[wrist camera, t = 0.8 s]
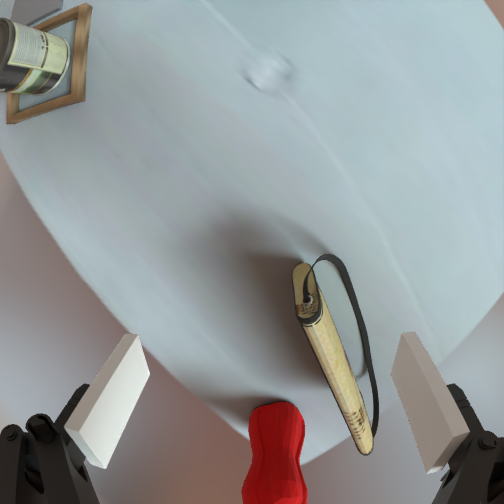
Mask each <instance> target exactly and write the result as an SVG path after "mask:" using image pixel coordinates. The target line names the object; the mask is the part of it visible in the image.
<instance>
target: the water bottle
mask: <svg viewBox="0 0 504 504" xmlns="http://www.w3.org/2000/svg"><path fill="white" fill-rule="evenodd" d="M248 432H249V437H250V442H251V448H252V452H253V458H252V464H251V467H250V469H249V471H248V474H247V476H246V479H245V481H244V483H243V487H242V491H241V492H242V498H243V504H307V496H308V493H307V488H306V485H305V482H304V479H303V475H302V472H301V469H300V462H299V458H300V454H301V450H302V446H303V442H304V437H305V424H304V419H303V417H302V415H301V414H300V412H299V410H298V408H297V407H295V406H294V405H293V404H291V403H287V402H276V403H273V404H271V405H266V406H260V407H258V408H256V409H254V410H253V412H252V413H251V415H250V418H249V428H248Z"/></svg>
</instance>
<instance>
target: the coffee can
mask: <svg viewBox="0 0 504 504" xmlns="http://www.w3.org/2000/svg"><path fill="white" fill-rule="evenodd" d="M70 57H71V50H70V46H69V44H68V42H67V41H66V40H65V39H64V38H62V37H57V36H54V35H52V34H49V33H46V32H43V31H41V30H38V29H35V28H32V27H28V26H25V25H22V24H19V23H16V22H12V21H10V20H9V19H6V18H0V92H8V93H23V94H34V95H45V94H47V93H49V92H51V91H52V90H53V89H54V88H56V87H57V86H58V84H59V83H60V82H61V81H62V79H63V77H64V76H65V74H66V72H67V69H68V66H69V63H70Z"/></svg>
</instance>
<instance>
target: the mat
mask: <svg viewBox="0 0 504 504" xmlns="http://www.w3.org/2000/svg"><path fill="white" fill-rule="evenodd" d="M62 4H63V0H16V1H15V5H14V9H13V13H12V18H11V21H12V22H16V23H19V24H22V25H25V26H30V25H31V24H33V23H35V22H37V21H39V20H41V19H43V18H45V17H47V16H49V15H51V14H53V13H55V12H57V11H59V10H61V9H62Z"/></svg>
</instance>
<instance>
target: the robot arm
mask: <svg viewBox="0 0 504 504" xmlns="http://www.w3.org/2000/svg"><path fill="white" fill-rule="evenodd" d="M149 375H150V372H149V370H148V366H147V363H146V360H145V357H144V354H143V350H142V346H141V343H140V339H139V336H138V335H136V334H125V335H124V336H123V338H122V339H121V340H120V342H119V343H118V345H117V346H116V348H115V349H114V351H113V352H112V353H111V355H110V356H109V358H108V359H107V361H106V362H105V364H104V365H103V367H102V368H101V370H100V371H99V373H98V374H97V376H96V377H95V379H94V380H93V382H92V383H91V385H89V384H83V385H82V386H81V387H79V388H78V389H77V390H76V391H75V392H74V394H73V396H72V397H71V399H70V400H69V401H68V403H67V405H66V406H65V407H64V409H63V410H62V412H61V414H60V415H59V417H58V418H57V420H56V421H55V423H53V421H52V420H51V418H50V417H49V416H48V415H46V414H42V413H41V414H36V415H33V416H32V417H31V418H29V419H28V421H27V423H26V427H25V428H26V429H27V431H28V432H29V433H27V432H23V431H22V429H21V428H20V427H19V426H18V425H15V424H12V425H8V426H6V427H5V428H4V429H3V430H2V432H1V434H0V504H100V503H99V501H98V498H97V496H96V493H95V491H94V488H93V486H92V483H91V480H90V478H89V475H88V472H87V469H86V467H85V465H84V463H83V462H84V460H85V458H87V459H88V461H89V462H90V463H91V464H92V465H95V466H98V467H101V468H104V469H106V467H107V465H108V463H109V461H110V458H111V456H112V454H113V452H114V449H115V447H116V445H117V443H118V441H119V439H120V436H121V434H122V432H123V430H124V428H125V426H126V423H127V421H128V419H129V417H130V415H131V413H132V411H133V409H134V407H135V405H136V402H137V400H138V398H139V396H140V394H141V392H142V390H143V388H144V386H145V384H146V382H147V380H148V378H149ZM391 376H392V379H393V381H394V384H395V386H396V389H397V391H398V394H399V397H400V399H401V402H402V404H403V407H404V410H405V412H406V415H407V418H408V421H409V423H410V426H411V429H412V432H413V435H414V437H415V440H416V443H417V446H418V449H419V452H420V455H421V458H422V461H423V464H424V467H425V470H426V474H428V473H432V472H435V471H439V470H442V469H443V468H444V466H445V465H446V464H447V463H448V464H449V467H450V469H449V470H448V472H447V473H446V474H445V475H444V476H443V477H442V479H441V481H443V483H442V485H441V487H440V489H439V491H438V493H437V495H436V497H435V499H434V500H433V502H432V504H504V437H501V438H498V437H497V436H496V435H495V434H494V433H492V432H490V431H485V430H484V429H483V427H482V425H481V423H480V421H479V419H478V418H477V416H476V414H475V412H474V410H473V408H472V407H471V406H470V403H469V401H468V400H467V397H466V396H465V394H464V392H463V390H462V389H460V388H459V387H458V386H457V385H456V384H449V385H446V384H445V382H444V380H443V379H442V377H441V375H440V373H439V372H438V370H437V368H436V366H435V364H434V363H433V361H432V359H431V358H430V356H429V354H428V352H427V351H426V349H425V347H424V346H423V344H422V342H421V341H420V339H419V337H418V336H417V334H416V333H415V332H407V333H402V334H401V338H400V342H399V346H398V349H397V353H396V357H395V360H394V364H393V367H392V371H391Z"/></svg>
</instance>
